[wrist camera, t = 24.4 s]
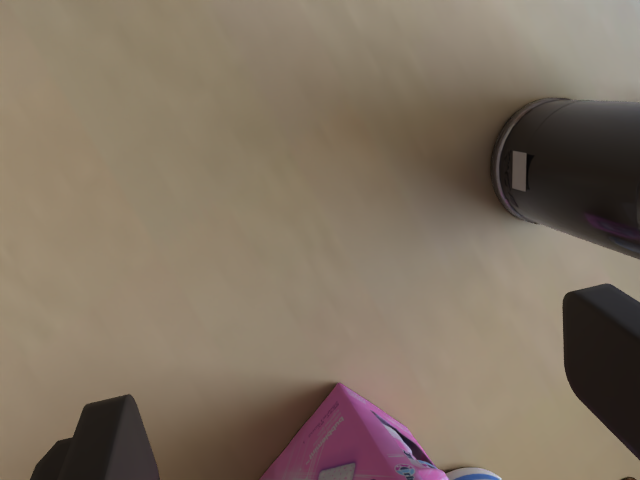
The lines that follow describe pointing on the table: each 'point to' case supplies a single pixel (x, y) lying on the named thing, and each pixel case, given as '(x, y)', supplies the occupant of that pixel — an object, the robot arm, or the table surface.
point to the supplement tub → (472, 474)
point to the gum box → (352, 445)
